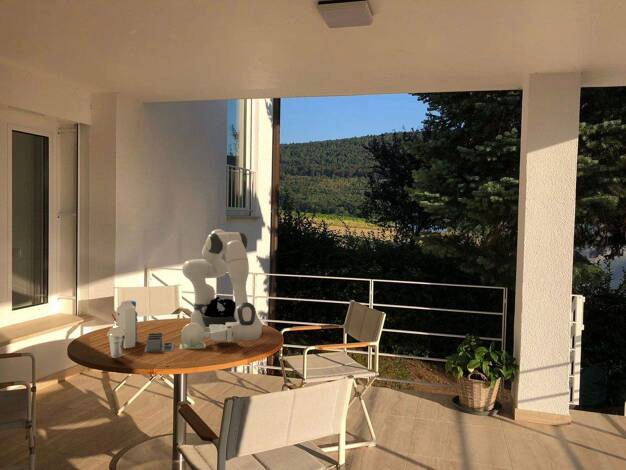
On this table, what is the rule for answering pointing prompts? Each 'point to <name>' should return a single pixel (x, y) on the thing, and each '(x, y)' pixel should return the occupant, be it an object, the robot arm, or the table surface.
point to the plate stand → (184, 346)
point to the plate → (192, 334)
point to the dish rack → (157, 343)
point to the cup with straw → (116, 339)
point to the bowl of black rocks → (219, 312)
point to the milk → (127, 322)
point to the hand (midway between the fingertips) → (200, 332)
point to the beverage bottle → (135, 320)
